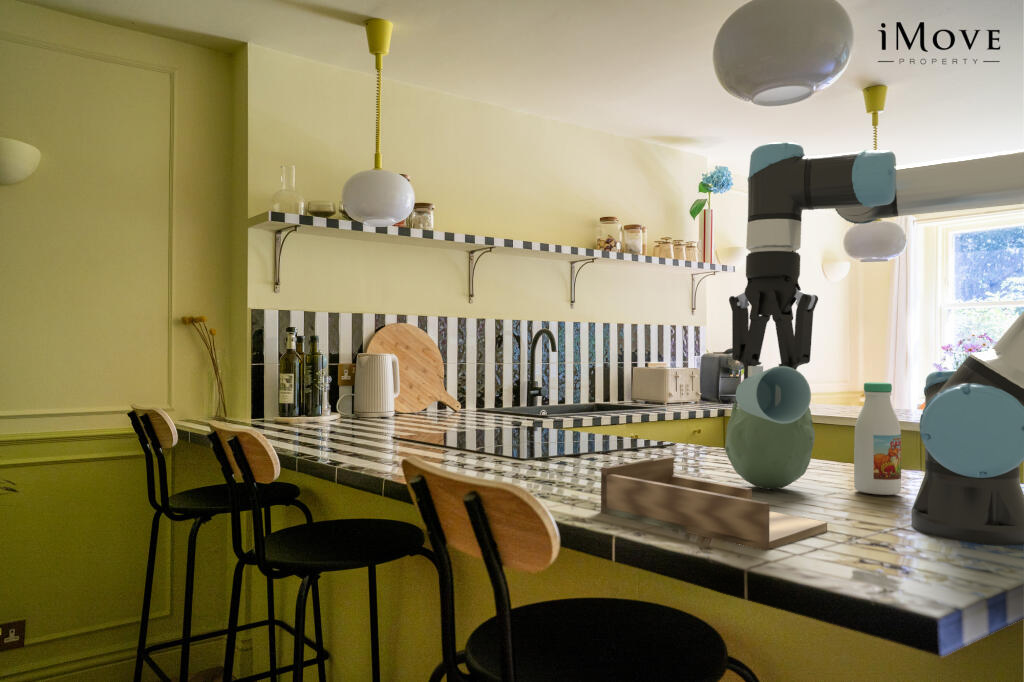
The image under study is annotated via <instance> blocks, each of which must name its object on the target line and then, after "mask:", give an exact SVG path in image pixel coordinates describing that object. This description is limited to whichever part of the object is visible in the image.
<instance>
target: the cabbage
mask: <svg viewBox="0 0 1024 682" xmlns="http://www.w3.org/2000/svg"><path fill="white" fill-rule="evenodd" d="M733 403H734V404H732V407H731V412H730V418H729V420H728V422H727V426H726V436H725V446H724V450H725V454H726V456H727V459H728V460H729V462H730V465H731V467H732V468H733V470H734V472H736V474H738V475H739V476H740V477H741V478H742V479H743V480H744V481H746V482H747V483H749V484H751V485H753V486H755V487H758V488H761V489H764V490H771V489H783V488H785V487H787V486H790V485H791V484H792V483H795V482H796V481H798V480H799V479H800V478H801V477H802V476H804V475H805V474H806V471H807V469H808V468H809V465H810V462H811V458H812V454H813V453H812V451H813V448H814V445H815V439H816V432H815V429H814V425H813V417H812V413H811V412H812V411H811V409H810V406H809V407H808V409H807V411H806V413H805V414H804V415H803V416H802V417H801V418H799V419H798V420H796V421H794V422H791V423H786V424H782V423H776V422H773V421H770V420H767V419H764V418H761V417H758V416H755V415H752V414H749V413H747V412H745V411H744V410H742V409H741V408H740V406H739V405H738V403H737V401H734V402H733Z"/></svg>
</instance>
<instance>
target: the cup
mask: <svg viewBox="0 0 1024 682" xmlns="http://www.w3.org/2000/svg"><path fill="white" fill-rule="evenodd" d="M776 385H777V386H779V387H780V390H781V399H780V403H779V404H778V405H777V406H775V389H776ZM811 398H812V393H811V387H810V384H809V382H808V381H807V379H806V377H805V376H804V375H803V374H802V373H801V372H800V371H798V370H797V369H796V370H795V369H793V368H791V367H786V366H779V365H778V366H774V367H771V368H768V369H766V370H763V372H761V373H758V374H756V375H753V376H751V377H748V378H746V379H744V378H743V380H741V382H740V383H739V384H738V385H737V387H736V391H735V399H736V404H737V406H738V407H739V406H740V408H741V409H742V410H744V411H745V412H747V413H749V414H752V415H755V416H758V417H761V418H764V419H767V420H770V421H773V422H776V423H782V424H786V423H791V422H794V421H796V420H798V419H799V418H801V417H802V416H803V415H804V414H805V413H806V411H807V409H808V407H809V408H810V405H811V401H812V400H811Z"/></svg>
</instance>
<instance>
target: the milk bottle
mask: <svg viewBox="0 0 1024 682" xmlns="http://www.w3.org/2000/svg"><path fill="white" fill-rule="evenodd" d="M892 387H893V386H892V383H891V382H880V381H879V382H877V381H876V382H875V381H872V382H871V381H869V382H867V381H866V382H864V383H863V391H864V392H863V394H864V397H865V398H864V402H863V406H862V408H861V410H860V412H859V413H858V416H857V418H856V421H855V426H854V440H853V441H854V444H853V445H854V446H853V449H854V450H853V451H854V452H853V453H854V454H853V457H854V458H853V459H854V460H853V462H854V463H853V482H854V484H853V485H854V489H855V490H856V491H857V492H861V493H865V494H872V495H881V496H882V495H883V496H884V495H887V496H890V495H892V496H893V495H898V494H900V493H901V492H902V491H901V490H902V431H901V430H902V429H901V425H900V422H899V421H900V420H899V419H898V417H897V415H896V413H895V410H894V407H893V404H892V401H891V396H892V395H893V394H892V390H893V388H892Z"/></svg>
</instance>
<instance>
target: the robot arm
mask: <svg viewBox="0 0 1024 682" xmlns="http://www.w3.org/2000/svg"><path fill="white" fill-rule="evenodd" d="M748 169H749V170H748V171H749V172H748V177H747V188H748V189H747V224H746V245H745V247H746V248H745V249H747V251H749V253H748V254H747V255H746V257H745V277H746V280H747V283H746V287H745V289H744V291H743V292H742V293H741V294H739V295H735V296H734V295H732V296H731V295H730V296H729V299H728V302H729V306H730V308H731V311H732V315H731V319H732V320H731V321H732V323H731V325H732V327H731V328H732V329H731V330H732V331H731V332H732V334H731V335H732V337H731V339H732V340H731V341H732V342H731V343H732V344H731V347H732V350H731V351H732V353H731V354H732V355H731V356H732V360H733V361H738V362H740V363H741V364H743V380H744V379H746V378H748V377H751V376H753V375H756V374H758V373H761V372H764V365H761V364H762V361H760V358H761V353H762V349H763V343H764V338H765V334H766V329H767V325H768V323H769V321H770V319H771V317H772V320H773V322H774V323H775V330H776V332H775V333H776V337H777V344H778V351H779V352H778V353H779V358H780V362H781V363H778V366H786V367H791V368H793V369H795V370H797V369H798V367H800V366H802V365H806V364H809V363H810V361H811V350H812V336H813V322H814V311H815V308H816V306H817V304H818V301H819V296H818V295H816V294H809V293H807V292H804V291H803V290H801V287H800V284H799V278H800V275H801V254H800V253H799V252H797V251H799V250H800V249H801V241H802V239H801V238H802V237H801V236H802V215H803V214H802V213H803V211H805V210H808V211H811V210H812V211H814V210H827V209H829V210H830V209H831V210H832V209H835V212H837V214H838V215H839V217H841V218H843V220H845V221H846V222H849V223H852V224H857V225H865V224H870V223H872V222H875V221H877V220H878V219H879V220H880V219H889V218H891V219H892V218H896V217H903V216H905V217H906V216H915V215H922V214H923V215H924V214H925V215H926V214H933V213H941V212H953V211H965V210H975V209H984V208H993V207H994V208H995V207H1003V206H1014V205H1015V206H1017V205H1024V149H1022V148H1021V149H1017V150H1010V151H1001V152H994V153H993V152H992V153H986V154H979V155H971V156H963V157H955V158H949V159H941V160H934V161H927V162H921V163H920V162H919V163H918V162H917V163H911V164H906V165H897V159H896V154H895V153H894V152H893V151H891V150H889V149H888V150H887V149H886V150H871V149H864V150H861V151H856V152H855V151H854V152H846V153H837V154H826V155H817V156H816V155H815V156H809V155H807V156H806V155H805V153H804V147H803V146H802V145H800V144H798V143H795V142H771V143H765V144H762V145H760V146H757V147H756V148H755V149H753V151H752V152H751V154H750V159H749V168H748ZM794 304H795V305H796V309H795V320H794V312H793V306H794ZM748 307H751V308H750V313H749V308H748ZM793 320H794V326H793ZM749 321H750V322H749ZM923 395H924V397H925V398H924V402H925V403H924V404H925V405H924V408H923V410H922V414H921V415H920V419H919V426H918V427H919V434H920V439H921V441H922V443H923V446H924V476H923V478H922V481H921V484H920V488H919V489H918V492H917V495H916V497H915V500H914V503H913V505H912V509H911V515H910V516H911V518H910V520H911V521H910V522H911V523H910V524H911V526H912V527H913V528H914V529H915V530H917V531H920V532H922V533H925V534H927V535H931V536H935V537H939V538H943V539H948V540H952V541H957V542H958V541H959V542H965V543H973V544H982V545H992V544H993V545H995V546H997V545H998V546H1017V545H1019V546H1020V545H1024V491H1023V488H1022V486H1021V481H1020V477H1021V476H1020V475H1021V474H1020V473H1021V472H1020V469H1021V467H1020V466H1021V465H1020V464H1022V463H1023V462H1024V310H1023V311H1022V313H1020V315H1019V316H1018V317H1017V318H1016V320H1015V321H1014V322H1013V323H1012V324H1011V326H1009V328H1008V329H1007V330H1006V331H1005V333H1004V334H1003V335H1002V336H1001V338H999V340H998V341H997V342H996V343H995V345H994V346H993V347H992V348H991V349H989V350H986V351H979V352H972V353H970V354H969V355H968V356H967V357H966V359H965V360H964V361H963V362H962V363H961V364H960V365H959V367H958V368H957V369H953V370H952V369H951V370H949V369H948V370H939V371H933V372H931V373H929V374H928V375H927V376H926V379H925V386H924V387H923ZM780 399H781V390H780V387H779V386H777V385H776V389H775V406H777V405H778V404H779V403H780Z"/></svg>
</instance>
